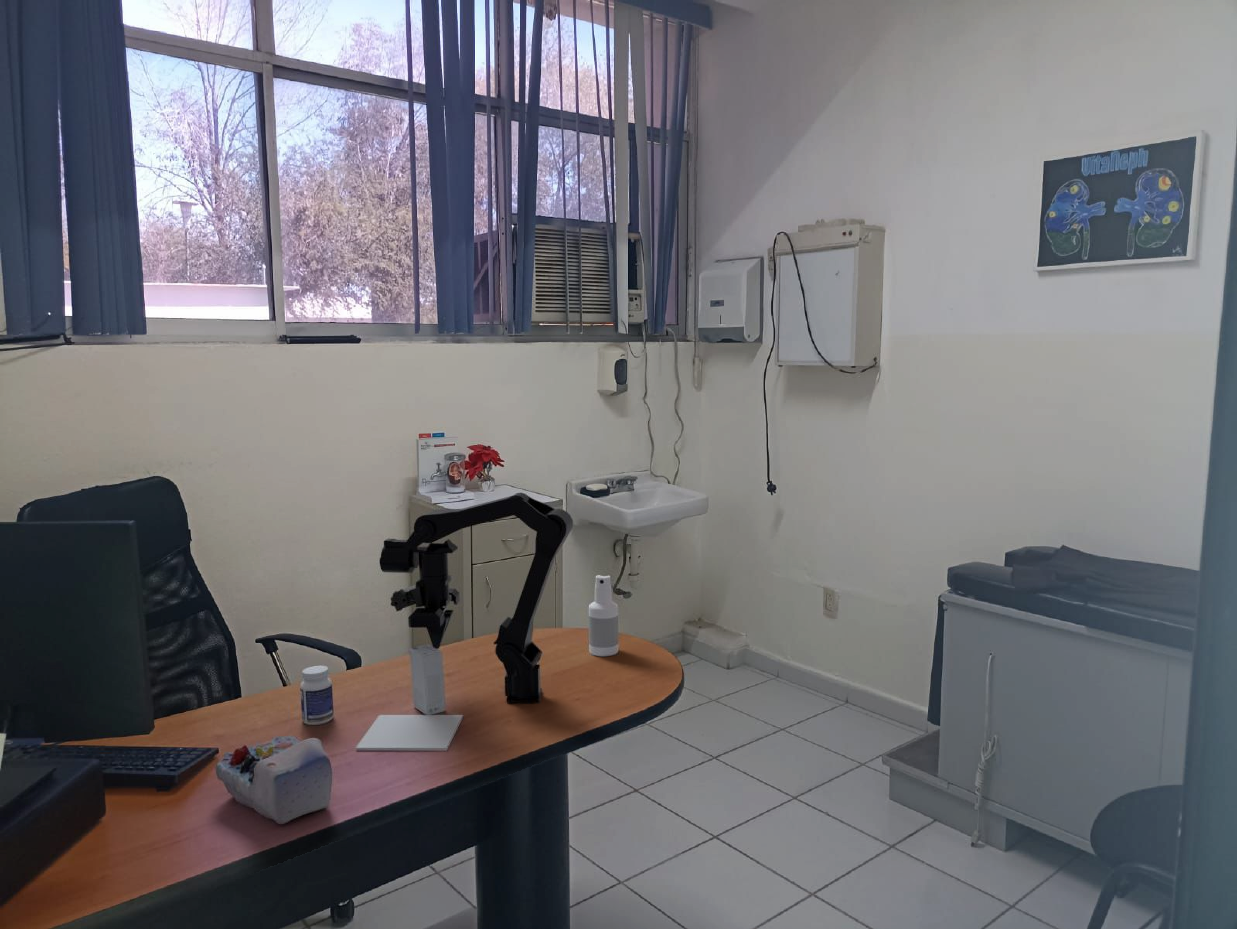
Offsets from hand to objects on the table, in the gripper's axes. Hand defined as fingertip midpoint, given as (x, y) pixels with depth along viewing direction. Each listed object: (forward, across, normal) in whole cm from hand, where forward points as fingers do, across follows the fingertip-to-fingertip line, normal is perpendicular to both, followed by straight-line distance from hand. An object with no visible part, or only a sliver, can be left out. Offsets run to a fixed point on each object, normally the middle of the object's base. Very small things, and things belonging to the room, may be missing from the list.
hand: (436, 648), depth 177 cm
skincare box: (+10, +8, 0) cm, 13 cm away
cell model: (+10, +43, -15) cm, 47 cm away
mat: (+10, +19, 0) cm, 21 cm away
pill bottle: (+10, +13, -20) cm, 26 cm away
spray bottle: (+10, -25, +33) cm, 42 cm away
